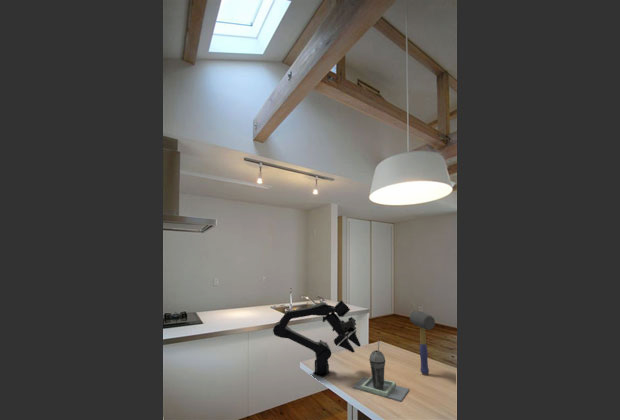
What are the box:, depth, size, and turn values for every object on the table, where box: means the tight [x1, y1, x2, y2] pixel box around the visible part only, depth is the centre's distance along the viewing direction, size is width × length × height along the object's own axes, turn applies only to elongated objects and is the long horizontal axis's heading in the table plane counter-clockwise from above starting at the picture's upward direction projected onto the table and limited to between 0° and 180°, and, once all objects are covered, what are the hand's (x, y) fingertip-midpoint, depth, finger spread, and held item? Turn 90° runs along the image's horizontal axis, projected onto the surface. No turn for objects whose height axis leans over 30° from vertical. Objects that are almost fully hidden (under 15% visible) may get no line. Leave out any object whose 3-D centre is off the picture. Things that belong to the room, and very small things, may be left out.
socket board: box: [352, 375, 410, 403], centre depth 130 cm, size 22×12×2 cm, turn 56°
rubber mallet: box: [409, 310, 436, 376], centre depth 147 cm, size 12×8×30 cm, turn 16°
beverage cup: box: [368, 340, 386, 390], centre depth 132 cm, size 7×7×20 cm
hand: (357, 349), depth 142 cm, fingers open, 9 cm apart
